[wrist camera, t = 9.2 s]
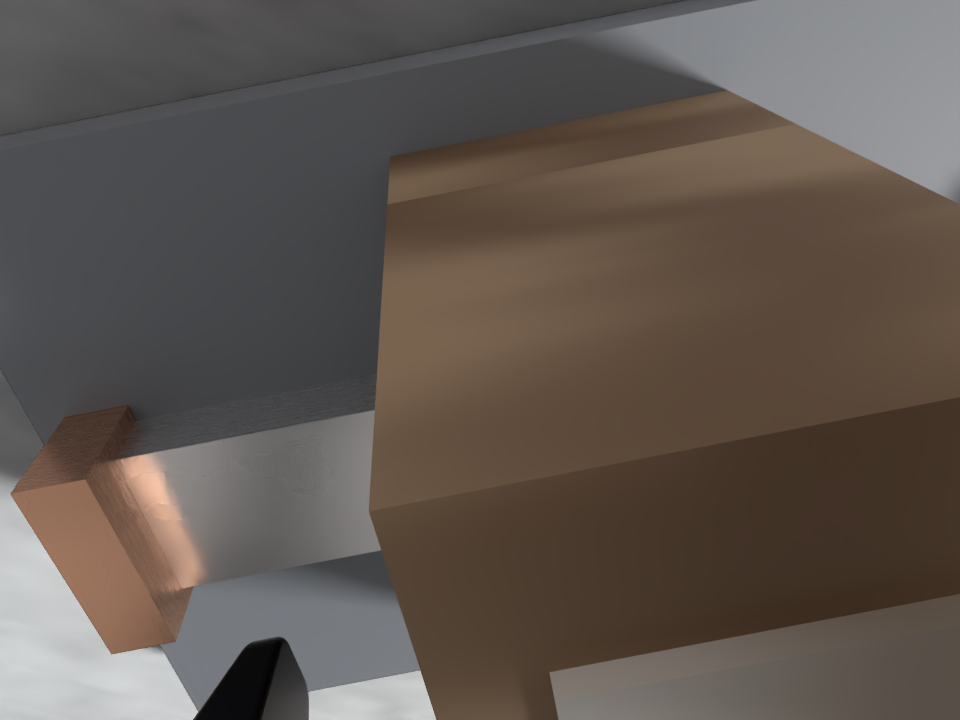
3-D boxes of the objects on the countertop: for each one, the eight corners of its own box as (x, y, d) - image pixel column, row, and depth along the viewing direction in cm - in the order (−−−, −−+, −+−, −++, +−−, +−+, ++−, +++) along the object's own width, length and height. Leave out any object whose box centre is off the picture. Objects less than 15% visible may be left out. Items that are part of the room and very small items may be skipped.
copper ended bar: (146, 568, 13) (111, 654, 11) (64, 417, 11) (9, 493, 10) (1063, 391, 13) (1154, 454, 11) (1111, 213, 11) (1225, 259, 10)
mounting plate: (212, 661, 16) (198, 712, 15) (-63, 148, 11) (-113, 172, 9) (1003, 510, 16) (1046, 551, 15) (1146, -91, 10) (1229, -94, 9)
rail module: (498, 620, 14) (570, 1144, 8) (390, 156, 10) (365, 538, 4) (730, 575, 14) (980, 1069, 8) (727, 90, 10) (1282, 362, 4)
